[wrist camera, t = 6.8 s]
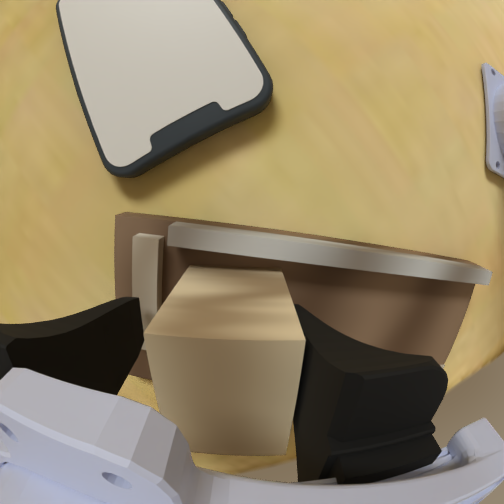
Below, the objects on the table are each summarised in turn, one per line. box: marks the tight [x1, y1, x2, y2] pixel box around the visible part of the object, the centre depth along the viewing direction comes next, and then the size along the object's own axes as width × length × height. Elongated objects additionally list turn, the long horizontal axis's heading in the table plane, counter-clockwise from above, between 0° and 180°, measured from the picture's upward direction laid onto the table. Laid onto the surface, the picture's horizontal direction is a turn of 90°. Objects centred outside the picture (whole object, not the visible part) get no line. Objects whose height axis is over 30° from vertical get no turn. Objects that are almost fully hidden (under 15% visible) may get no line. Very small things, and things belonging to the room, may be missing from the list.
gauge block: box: [143, 265, 306, 456], centre depth 10 cm, size 4×5×6 cm
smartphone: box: [56, 0, 273, 178], centre depth 10 cm, size 9×2×16 cm
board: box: [114, 212, 492, 380], centre depth 13 cm, size 20×9×2 cm, turn 82°
